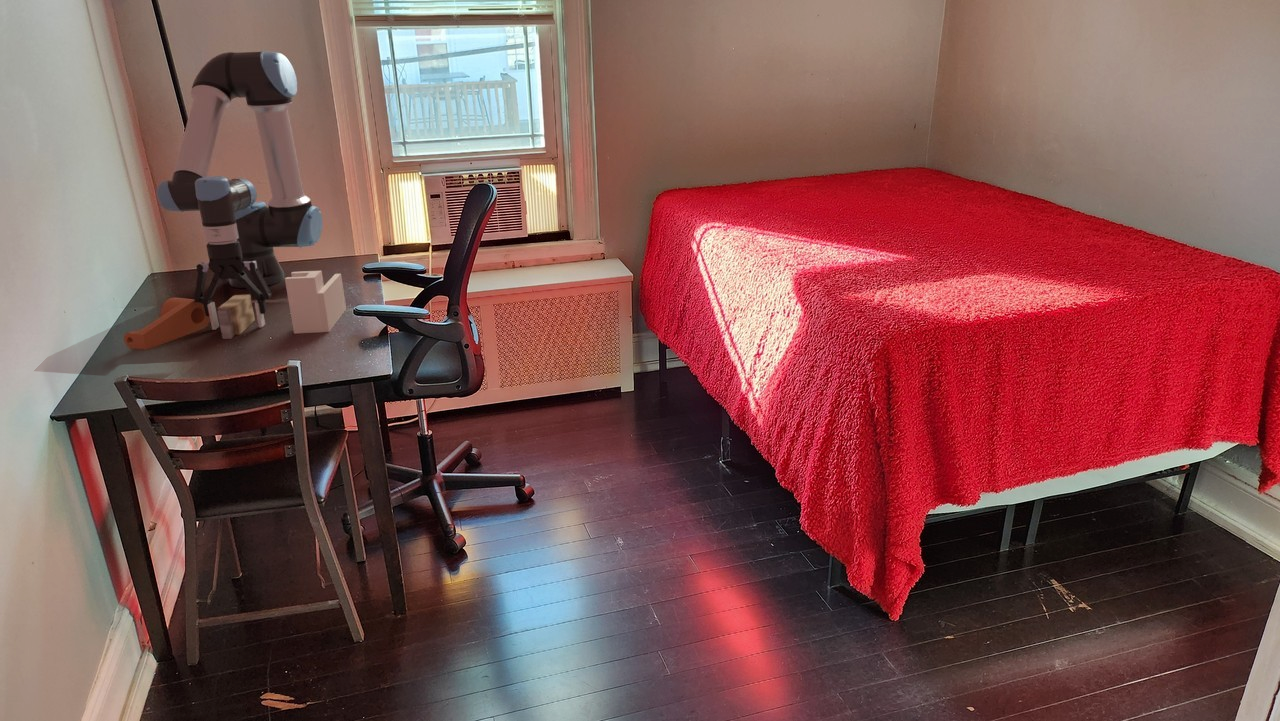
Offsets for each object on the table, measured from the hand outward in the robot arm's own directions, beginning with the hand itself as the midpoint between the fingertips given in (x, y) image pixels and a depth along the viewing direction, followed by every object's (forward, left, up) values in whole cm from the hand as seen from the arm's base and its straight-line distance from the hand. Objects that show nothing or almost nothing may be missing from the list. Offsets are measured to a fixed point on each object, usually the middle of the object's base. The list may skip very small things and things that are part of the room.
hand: (239, 327), depth 213 cm
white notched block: (+4, +19, 0) cm, 19 cm away
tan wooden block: (0, 0, 0) cm, 0 cm away
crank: (+3, -16, -1) cm, 16 cm away
